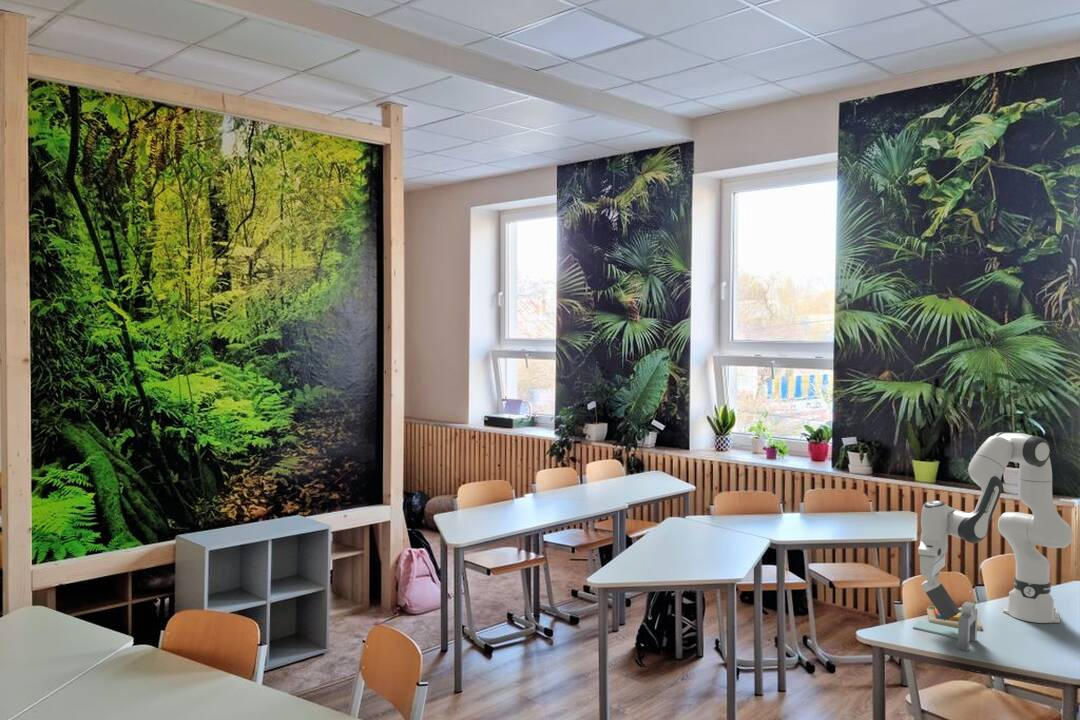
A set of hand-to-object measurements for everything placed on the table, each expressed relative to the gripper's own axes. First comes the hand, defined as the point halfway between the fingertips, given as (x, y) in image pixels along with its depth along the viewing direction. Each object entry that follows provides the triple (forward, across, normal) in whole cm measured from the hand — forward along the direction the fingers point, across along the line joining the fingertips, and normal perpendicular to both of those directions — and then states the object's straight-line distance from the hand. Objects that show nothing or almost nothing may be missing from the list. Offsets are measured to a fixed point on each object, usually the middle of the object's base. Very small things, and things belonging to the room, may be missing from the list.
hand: (932, 583), depth 308 cm
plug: (+6, 0, 0) cm, 6 cm away
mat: (+16, 0, +4) cm, 17 cm away
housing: (+16, +9, +14) cm, 23 cm away
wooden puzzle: (+17, -16, +4) cm, 24 cm away
